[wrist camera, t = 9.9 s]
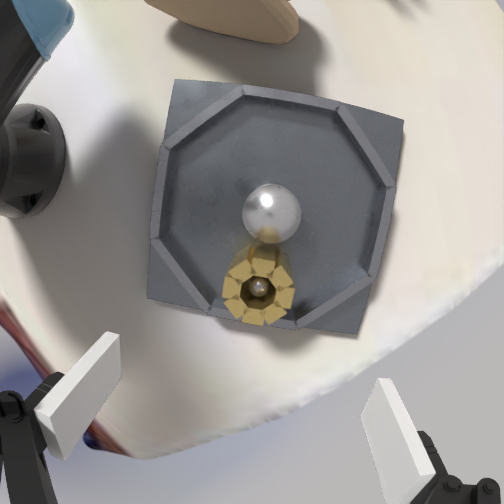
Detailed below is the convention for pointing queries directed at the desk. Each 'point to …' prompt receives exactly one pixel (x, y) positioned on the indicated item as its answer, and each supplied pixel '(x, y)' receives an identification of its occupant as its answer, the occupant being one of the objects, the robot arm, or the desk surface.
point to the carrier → (272, 198)
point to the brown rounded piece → (237, 17)
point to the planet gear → (264, 265)
